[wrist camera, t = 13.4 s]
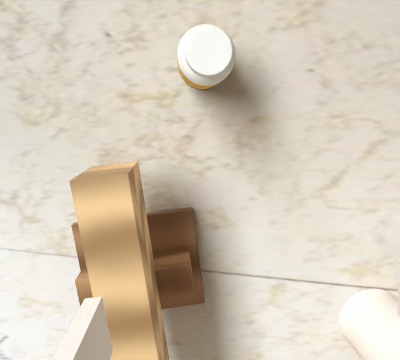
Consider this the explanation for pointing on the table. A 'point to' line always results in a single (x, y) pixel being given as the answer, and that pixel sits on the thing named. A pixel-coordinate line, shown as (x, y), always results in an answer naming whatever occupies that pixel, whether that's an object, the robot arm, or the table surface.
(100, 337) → the robot arm
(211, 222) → the table surface
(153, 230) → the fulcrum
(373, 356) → the mug
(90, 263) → the plank
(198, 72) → the supplement bottle
